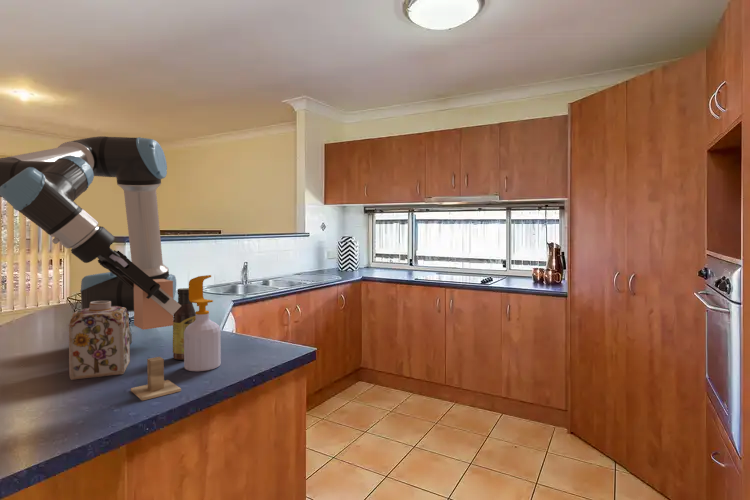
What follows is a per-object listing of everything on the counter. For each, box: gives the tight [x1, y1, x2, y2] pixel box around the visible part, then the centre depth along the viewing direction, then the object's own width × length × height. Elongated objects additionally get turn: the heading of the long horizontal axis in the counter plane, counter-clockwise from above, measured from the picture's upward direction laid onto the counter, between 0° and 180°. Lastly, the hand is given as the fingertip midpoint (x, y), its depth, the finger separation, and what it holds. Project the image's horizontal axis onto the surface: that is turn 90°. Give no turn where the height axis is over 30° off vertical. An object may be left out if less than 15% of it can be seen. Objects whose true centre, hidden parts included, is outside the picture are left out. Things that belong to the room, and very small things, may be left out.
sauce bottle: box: [172, 287, 196, 361], centre depth 121 cm, size 6×6×20 cm
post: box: [130, 356, 182, 401], centre depth 95 cm, size 8×8×7 cm
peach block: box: [133, 279, 174, 331], centre depth 95 cm, size 6×6×10 cm
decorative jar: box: [68, 301, 131, 381], centre depth 109 cm, size 12×12×18 cm
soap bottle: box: [183, 274, 222, 373], centre depth 113 cm, size 9×9×25 cm
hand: (170, 308), depth 97 cm, fingers closed on peach block, 6 cm apart
